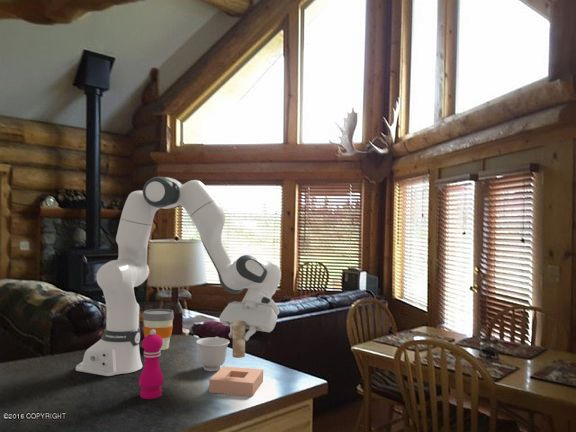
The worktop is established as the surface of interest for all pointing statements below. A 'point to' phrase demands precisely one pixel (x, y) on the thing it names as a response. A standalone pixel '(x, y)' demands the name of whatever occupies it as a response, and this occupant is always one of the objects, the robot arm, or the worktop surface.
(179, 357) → the worktop surface
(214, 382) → the socket block
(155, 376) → the pepper mill
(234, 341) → the maple pin
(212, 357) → the teacup
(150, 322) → the reusable coffee cup
